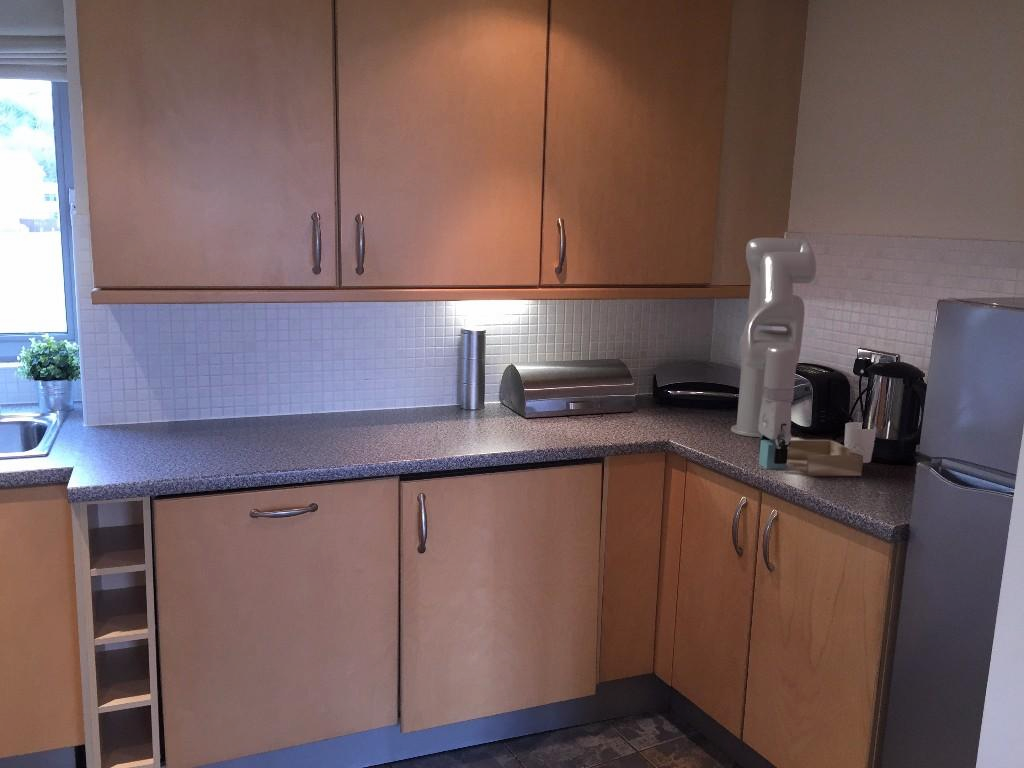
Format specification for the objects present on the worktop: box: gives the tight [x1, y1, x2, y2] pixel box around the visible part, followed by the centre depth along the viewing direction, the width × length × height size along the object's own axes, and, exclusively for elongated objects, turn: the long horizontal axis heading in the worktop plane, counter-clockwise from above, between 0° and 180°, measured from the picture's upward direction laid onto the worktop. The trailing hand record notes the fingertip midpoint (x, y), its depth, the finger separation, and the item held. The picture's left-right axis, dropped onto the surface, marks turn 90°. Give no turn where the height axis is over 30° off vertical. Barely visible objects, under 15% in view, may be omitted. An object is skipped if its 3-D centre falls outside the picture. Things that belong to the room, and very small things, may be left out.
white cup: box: [843, 421, 877, 464], centre depth 237 cm, size 8×8×10 cm
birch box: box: [787, 439, 864, 477], centre depth 229 cm, size 17×14×6 cm
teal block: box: [758, 439, 786, 470], centre depth 228 cm, size 5×5×7 cm
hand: (772, 458), depth 228 cm, fingers open, 9 cm apart
